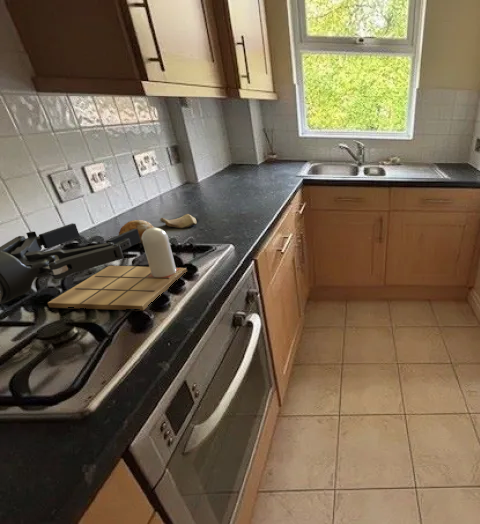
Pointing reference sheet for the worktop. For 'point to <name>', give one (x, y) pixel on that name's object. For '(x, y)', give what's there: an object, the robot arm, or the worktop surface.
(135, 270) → the game board
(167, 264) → the white domed cylinder
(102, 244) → the robot arm
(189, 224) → the pottery shard
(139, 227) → the bread roll
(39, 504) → the worktop surface
